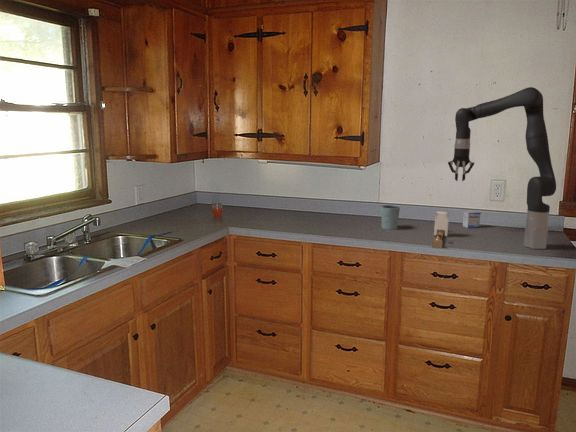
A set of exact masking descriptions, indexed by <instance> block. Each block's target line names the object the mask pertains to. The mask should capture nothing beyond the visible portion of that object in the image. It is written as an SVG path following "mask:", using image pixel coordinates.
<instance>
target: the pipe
mask: <svg viewBox="0 0 576 432" xmlns="http://www.w3.org/2000/svg"><path fill="white" fill-rule="evenodd" d="M444 235H445V230H439V229H437V235H435V239H432V241H431V242H432V243H431V247H432V248H438V249H443V238H444ZM453 242H454V241H453V240H448V244H454V243H453Z"/></svg>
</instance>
